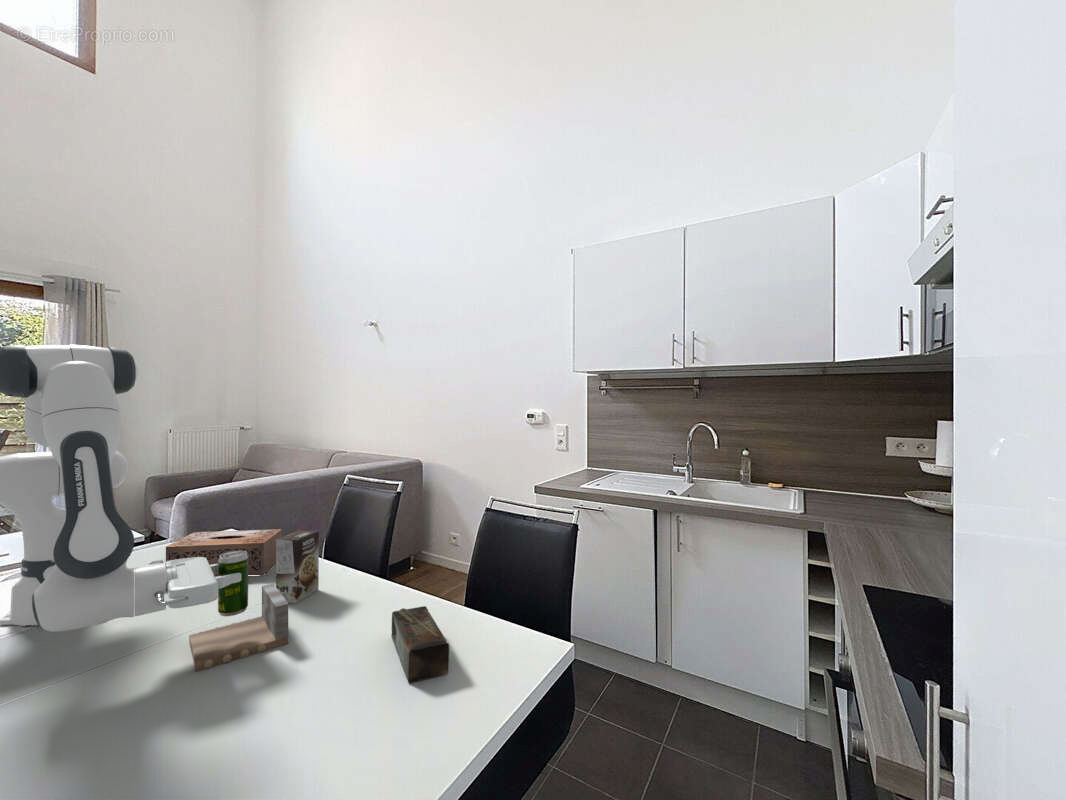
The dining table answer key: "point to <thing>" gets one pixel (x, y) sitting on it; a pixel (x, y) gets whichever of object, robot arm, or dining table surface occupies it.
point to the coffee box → (297, 565)
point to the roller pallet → (243, 634)
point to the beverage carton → (419, 644)
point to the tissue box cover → (229, 547)
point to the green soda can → (235, 594)
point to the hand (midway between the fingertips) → (238, 571)
